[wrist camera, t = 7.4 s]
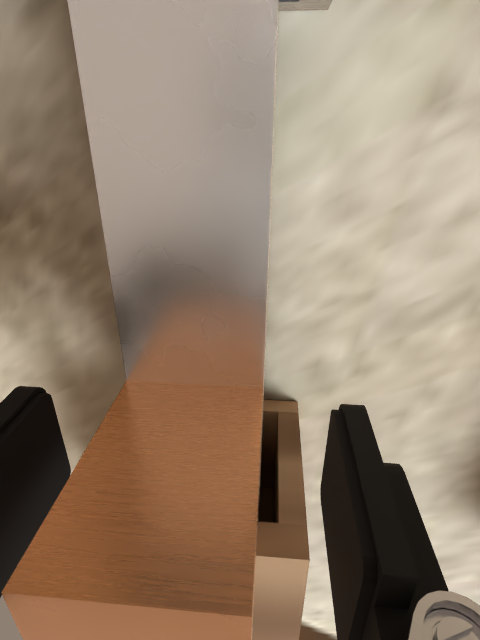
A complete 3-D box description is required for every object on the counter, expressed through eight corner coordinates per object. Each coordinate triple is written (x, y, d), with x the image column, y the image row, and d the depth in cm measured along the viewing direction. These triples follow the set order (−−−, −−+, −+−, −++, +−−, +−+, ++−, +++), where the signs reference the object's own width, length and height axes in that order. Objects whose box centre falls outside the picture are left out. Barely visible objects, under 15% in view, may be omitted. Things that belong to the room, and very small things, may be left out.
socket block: (146, 393, 17) (75, 540, 11) (297, 401, 16) (309, 560, 10) (159, 490, 19) (107, 651, 13) (288, 500, 19) (294, 671, 13)
